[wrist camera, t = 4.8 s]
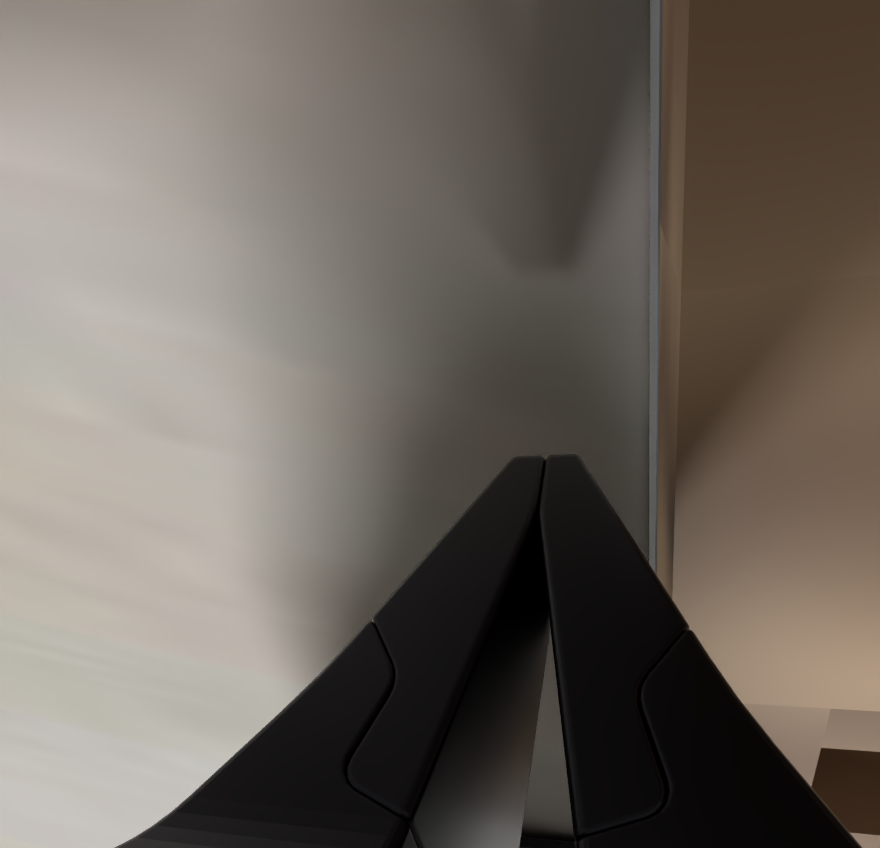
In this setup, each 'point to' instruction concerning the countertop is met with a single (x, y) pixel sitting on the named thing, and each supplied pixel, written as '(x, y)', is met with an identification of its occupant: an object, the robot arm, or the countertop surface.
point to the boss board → (654, 263)
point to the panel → (776, 371)
